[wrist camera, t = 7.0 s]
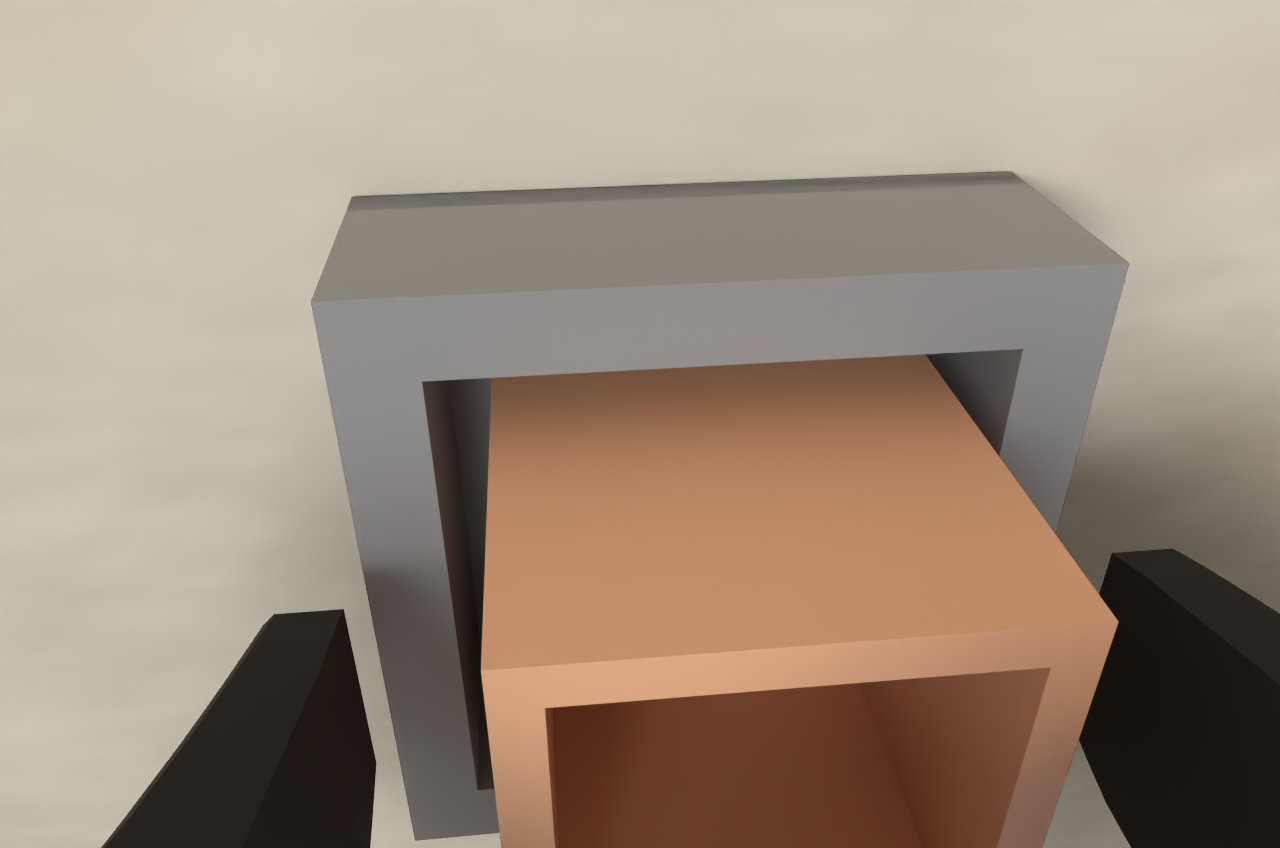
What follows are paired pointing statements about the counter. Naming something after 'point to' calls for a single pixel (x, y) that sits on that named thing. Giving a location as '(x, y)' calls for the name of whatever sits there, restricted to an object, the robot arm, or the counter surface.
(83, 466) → the counter surface
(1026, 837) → the box
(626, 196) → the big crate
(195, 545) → the counter surface
